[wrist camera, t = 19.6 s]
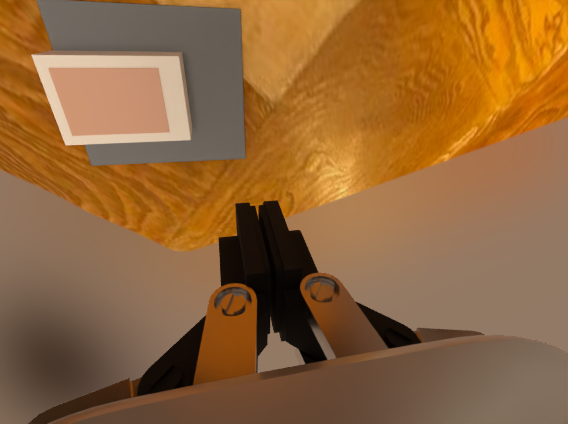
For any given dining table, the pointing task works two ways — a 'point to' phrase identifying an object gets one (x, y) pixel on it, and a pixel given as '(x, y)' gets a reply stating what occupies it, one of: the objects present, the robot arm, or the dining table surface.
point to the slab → (116, 95)
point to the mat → (166, 38)
